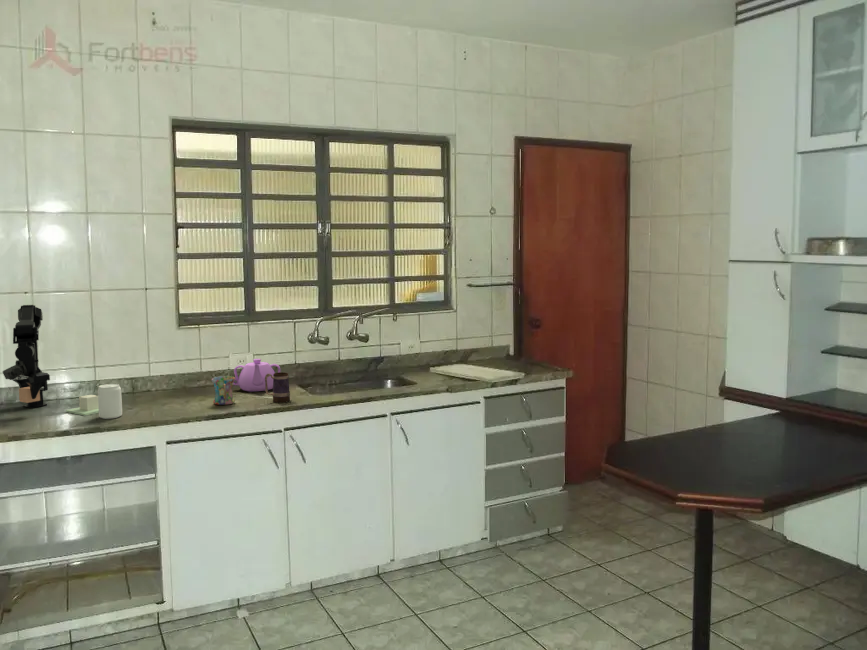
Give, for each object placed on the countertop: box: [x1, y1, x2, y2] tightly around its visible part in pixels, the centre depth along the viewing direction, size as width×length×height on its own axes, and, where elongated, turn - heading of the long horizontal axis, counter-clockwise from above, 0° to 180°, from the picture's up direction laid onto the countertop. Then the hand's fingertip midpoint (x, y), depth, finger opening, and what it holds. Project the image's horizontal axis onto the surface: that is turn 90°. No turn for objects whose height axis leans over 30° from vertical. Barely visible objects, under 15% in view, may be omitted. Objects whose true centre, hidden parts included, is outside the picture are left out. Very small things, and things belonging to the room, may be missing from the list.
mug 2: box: [265, 371, 291, 404], centre depth 302 cm, size 10×7×12 cm
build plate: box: [65, 406, 99, 417], centre depth 287 cm, size 12×12×1 cm
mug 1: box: [211, 375, 236, 406], centre depth 297 cm, size 12×9×11 cm
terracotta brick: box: [18, 387, 40, 404], centre depth 277 cm, size 5×5×5 cm
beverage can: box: [97, 383, 123, 420], centre depth 276 cm, size 8×8×12 cm
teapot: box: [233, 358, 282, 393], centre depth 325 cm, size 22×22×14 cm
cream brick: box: [78, 394, 99, 411], centre depth 287 cm, size 5×5×5 cm
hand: (29, 398), depth 277 cm, fingers closed on terracotta brick, 5 cm apart
